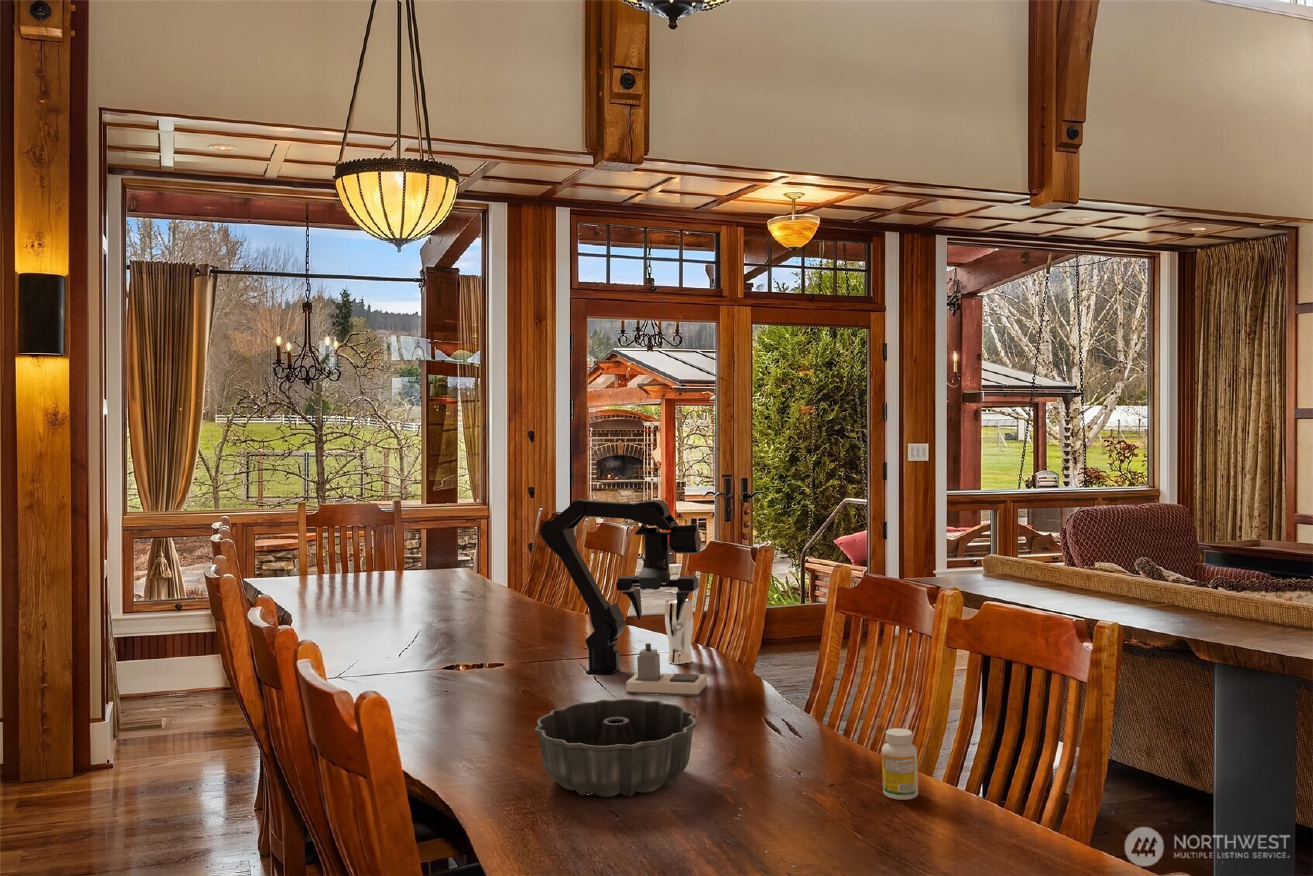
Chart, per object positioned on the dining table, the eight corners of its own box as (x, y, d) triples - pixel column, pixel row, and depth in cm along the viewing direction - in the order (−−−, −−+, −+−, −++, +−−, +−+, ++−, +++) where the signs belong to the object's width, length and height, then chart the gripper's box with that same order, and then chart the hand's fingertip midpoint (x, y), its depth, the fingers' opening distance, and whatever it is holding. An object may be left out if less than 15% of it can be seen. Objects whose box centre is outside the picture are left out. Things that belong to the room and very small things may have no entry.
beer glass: (692, 665, 249) (690, 603, 249) (663, 665, 250) (661, 603, 250) (696, 659, 256) (694, 598, 256) (669, 658, 257) (667, 598, 257)
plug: (638, 688, 226) (636, 645, 226) (643, 684, 230) (641, 641, 230) (655, 689, 225) (654, 646, 225) (660, 685, 229) (659, 642, 229)
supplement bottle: (908, 803, 154) (906, 739, 154) (876, 796, 157) (874, 733, 157) (924, 793, 158) (922, 730, 158) (892, 786, 162) (891, 725, 162)
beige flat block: (626, 693, 224) (625, 680, 224) (637, 683, 233) (637, 670, 233) (698, 696, 220) (697, 682, 220) (707, 686, 228) (706, 672, 228)
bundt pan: (685, 813, 153) (683, 746, 153) (515, 807, 158) (513, 742, 158) (708, 757, 179) (706, 699, 179) (561, 753, 184) (560, 697, 184)
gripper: (608, 558, 236) (610, 625, 237) (687, 558, 232) (689, 627, 232) (622, 552, 247) (624, 617, 247) (698, 552, 242) (700, 618, 243)
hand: (658, 620), depth 242 cm, fingers open, 9 cm apart
